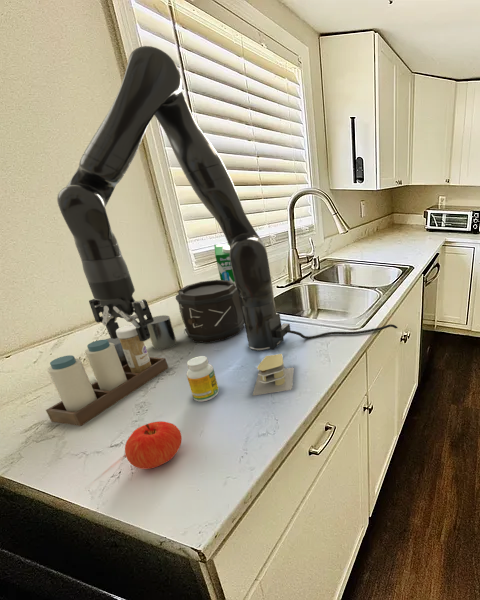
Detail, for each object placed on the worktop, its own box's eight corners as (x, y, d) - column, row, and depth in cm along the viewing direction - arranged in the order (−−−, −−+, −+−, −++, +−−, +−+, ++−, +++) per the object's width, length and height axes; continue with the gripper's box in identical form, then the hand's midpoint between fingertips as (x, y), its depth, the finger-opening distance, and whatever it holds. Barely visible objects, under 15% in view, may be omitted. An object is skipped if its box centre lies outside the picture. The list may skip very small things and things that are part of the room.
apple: (120, 478, 56) (105, 442, 53) (153, 442, 64) (141, 409, 61) (166, 477, 56) (153, 442, 53) (194, 442, 64) (183, 409, 61)
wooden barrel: (171, 342, 102) (157, 295, 96) (213, 318, 118) (203, 277, 113) (220, 347, 98) (208, 299, 93) (256, 322, 115) (248, 280, 109)
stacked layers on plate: (258, 372, 86) (255, 354, 84) (293, 367, 88) (291, 349, 86) (252, 395, 77) (248, 376, 75) (291, 389, 79) (288, 370, 77)
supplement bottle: (194, 391, 79) (184, 357, 75) (219, 385, 81) (211, 352, 77) (192, 405, 74) (181, 369, 71) (219, 398, 76) (209, 363, 73)
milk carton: (228, 314, 122) (213, 248, 113) (227, 306, 129) (214, 244, 120) (254, 310, 126) (242, 246, 117) (252, 302, 133) (240, 241, 124)
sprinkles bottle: (153, 375, 84) (137, 328, 79) (131, 381, 82) (113, 333, 77) (154, 367, 88) (139, 322, 83) (133, 372, 85) (116, 326, 80)
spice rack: (168, 369, 88) (165, 358, 86) (81, 427, 68) (75, 414, 66) (144, 366, 89) (141, 355, 88) (52, 423, 69) (45, 410, 68)
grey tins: (181, 342, 102) (174, 316, 99) (120, 379, 84) (108, 348, 81) (165, 340, 103) (157, 314, 100) (101, 376, 85) (88, 346, 82)
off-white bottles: (135, 386, 80) (117, 338, 75) (82, 420, 69) (57, 367, 64) (118, 384, 81) (99, 337, 76) (63, 417, 70) (37, 365, 65)
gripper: (149, 272, 77) (168, 333, 83) (100, 270, 80) (121, 329, 86) (118, 282, 70) (141, 348, 76) (65, 279, 73) (91, 343, 79)
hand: (130, 338), depth 81 cm, fingers open, 8 cm apart
